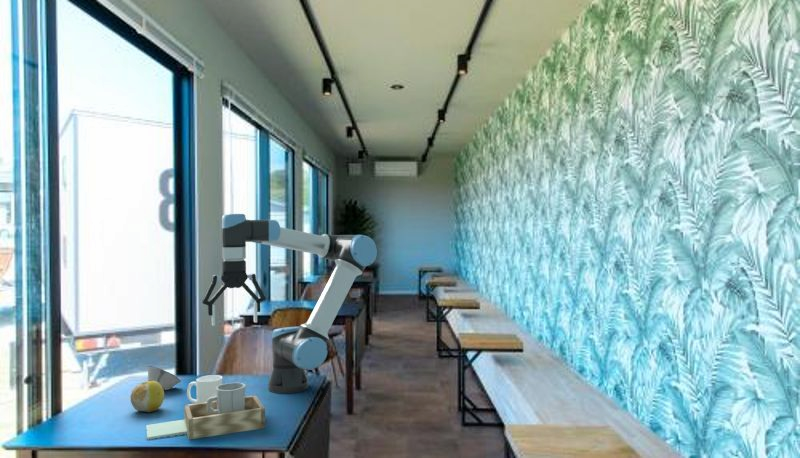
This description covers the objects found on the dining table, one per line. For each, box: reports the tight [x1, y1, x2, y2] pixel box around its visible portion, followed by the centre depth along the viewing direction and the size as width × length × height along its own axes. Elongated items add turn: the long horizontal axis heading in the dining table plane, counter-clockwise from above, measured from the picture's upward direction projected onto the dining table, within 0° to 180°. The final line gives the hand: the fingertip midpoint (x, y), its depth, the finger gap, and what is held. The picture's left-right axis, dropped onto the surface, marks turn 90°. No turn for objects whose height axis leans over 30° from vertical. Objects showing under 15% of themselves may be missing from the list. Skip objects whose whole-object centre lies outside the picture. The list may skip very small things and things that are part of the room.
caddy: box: [183, 394, 266, 440], centre depth 167 cm, size 22×15×6 cm
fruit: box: [130, 380, 165, 413], centre depth 182 cm, size 10×11×10 cm
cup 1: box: [186, 374, 223, 404], centre depth 185 cm, size 8×12×10 cm
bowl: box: [147, 365, 181, 391], centre depth 205 cm, size 13×13×5 cm
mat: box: [145, 418, 187, 441], centre depth 163 cm, size 11×11×1 cm
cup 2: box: [207, 382, 246, 414], centre depth 168 cm, size 10×9×12 cm
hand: (234, 323), depth 183 cm, fingers open, 13 cm apart
